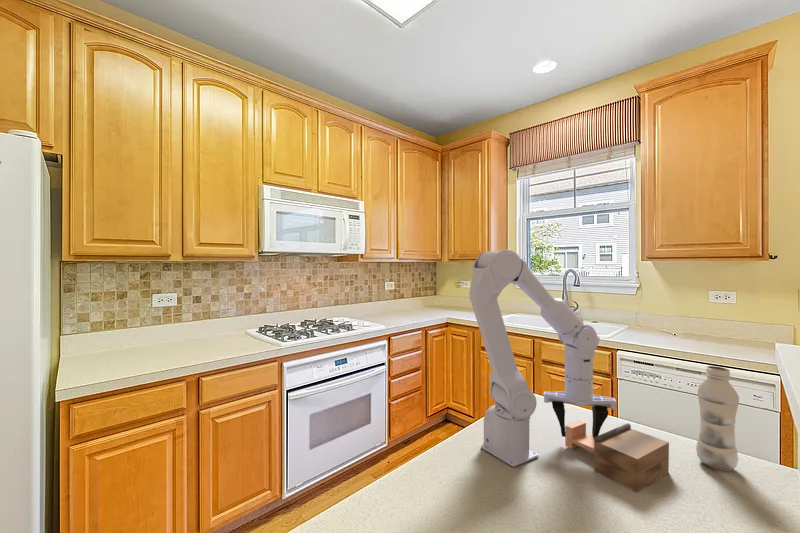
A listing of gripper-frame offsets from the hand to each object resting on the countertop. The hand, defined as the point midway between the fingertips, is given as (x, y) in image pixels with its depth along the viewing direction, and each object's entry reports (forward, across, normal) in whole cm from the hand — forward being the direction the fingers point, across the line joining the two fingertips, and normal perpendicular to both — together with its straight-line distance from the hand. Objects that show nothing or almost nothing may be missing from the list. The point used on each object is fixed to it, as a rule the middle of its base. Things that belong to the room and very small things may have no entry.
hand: (578, 436), depth 83 cm
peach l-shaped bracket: (+2, +4, -4) cm, 6 cm away
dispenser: (+2, +8, -8) cm, 12 cm away
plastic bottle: (+3, +26, 0) cm, 26 cm away
